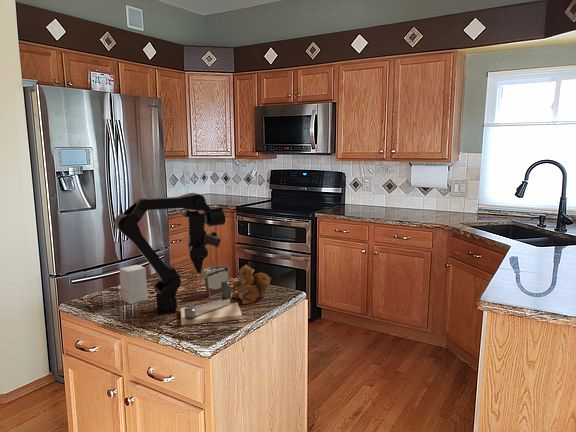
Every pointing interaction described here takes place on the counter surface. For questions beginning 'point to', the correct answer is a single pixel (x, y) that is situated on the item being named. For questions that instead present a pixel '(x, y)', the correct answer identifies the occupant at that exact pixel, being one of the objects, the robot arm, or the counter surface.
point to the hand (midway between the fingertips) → (198, 269)
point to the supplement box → (133, 284)
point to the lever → (211, 303)
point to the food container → (215, 279)
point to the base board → (214, 315)
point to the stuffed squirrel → (250, 285)
